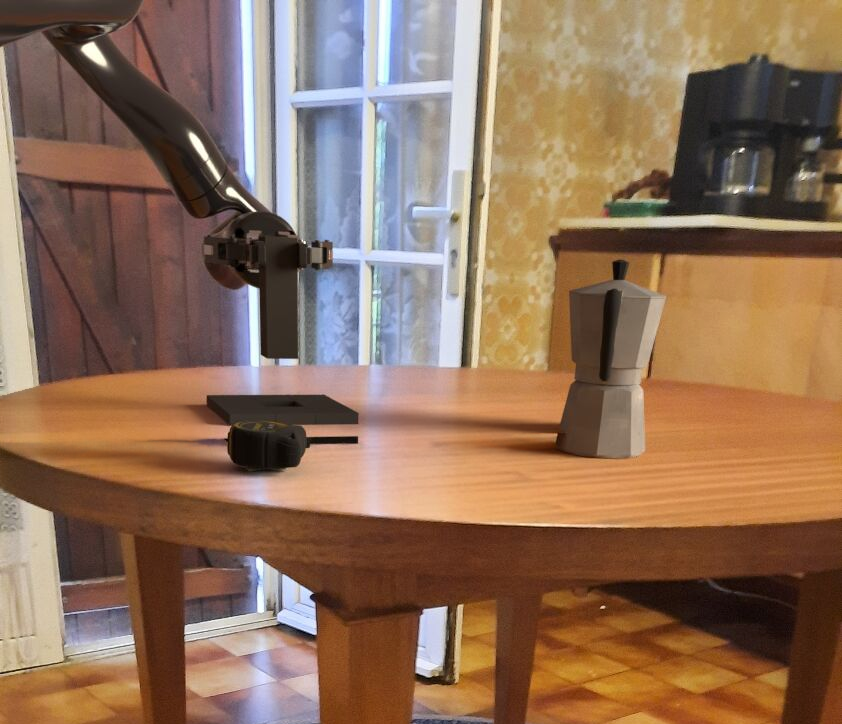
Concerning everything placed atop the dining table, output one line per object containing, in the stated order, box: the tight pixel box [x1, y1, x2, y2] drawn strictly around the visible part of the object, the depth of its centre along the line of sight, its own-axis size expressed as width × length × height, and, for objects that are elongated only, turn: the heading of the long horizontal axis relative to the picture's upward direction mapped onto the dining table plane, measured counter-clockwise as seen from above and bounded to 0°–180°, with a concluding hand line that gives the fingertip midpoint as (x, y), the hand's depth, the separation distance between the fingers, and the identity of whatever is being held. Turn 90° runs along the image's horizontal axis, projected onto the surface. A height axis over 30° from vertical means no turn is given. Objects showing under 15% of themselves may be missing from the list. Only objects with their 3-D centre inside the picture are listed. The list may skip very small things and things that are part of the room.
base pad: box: [206, 394, 360, 445], centre depth 111 cm, size 13×13×3 cm
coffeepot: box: [554, 258, 667, 459], centre depth 106 cm, size 15×9×18 cm, turn 167°
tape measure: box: [226, 421, 312, 472], centre depth 94 cm, size 7×7×4 cm
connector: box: [258, 236, 299, 360], centre depth 106 cm, size 3×3×11 cm
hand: (282, 255), depth 102 cm, fingers closed on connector, 3 cm apart
